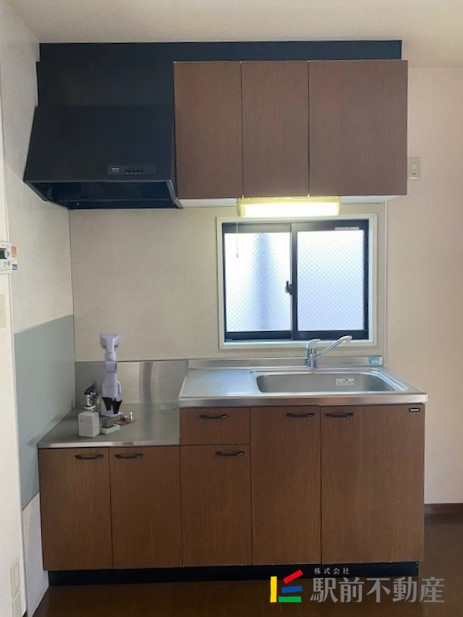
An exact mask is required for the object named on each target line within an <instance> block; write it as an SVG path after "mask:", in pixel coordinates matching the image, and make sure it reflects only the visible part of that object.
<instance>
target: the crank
mask: <svg viewBox="0 0 463 617" xmlns="http://www.w3.org/2000/svg"><path fill="white" fill-rule="evenodd" d="M119 417H120V419H128V420H131V421H132V420H134V418H135V417H133V412H131V411H130V412H128V415H127V414H120V415H119ZM132 417H133V418H132Z"/></svg>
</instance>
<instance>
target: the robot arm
mask: <svg viewBox="0 0 463 617" xmlns="http://www.w3.org/2000/svg"><path fill="white" fill-rule="evenodd" d="M99 341H100V342H99V344H100V349H102V350H104V351H105V352H104V355H103V356H104V357H103V358H104V363H103V372H104V382H103V383H102V385H101V386H102V388H101V393H102V396H101V401H100V405H101V406H100V407H101V413H100V415H101V416H104V417H107V416H110V417H113V418H114V417H117V416H120V415H124V413H123V412H121V411H120V407H121V404H122V403H123V399H122V398H121V397H122V386H121V382H120V381H119V380H118V371H119V368H118V367H119V366H118V365H119V364H118V360H117V353H116V349H118V348H119V347H120V334H119V333H118V332H114V333H112V332H111V333H109V332H108V333H100V335H99Z"/></svg>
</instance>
